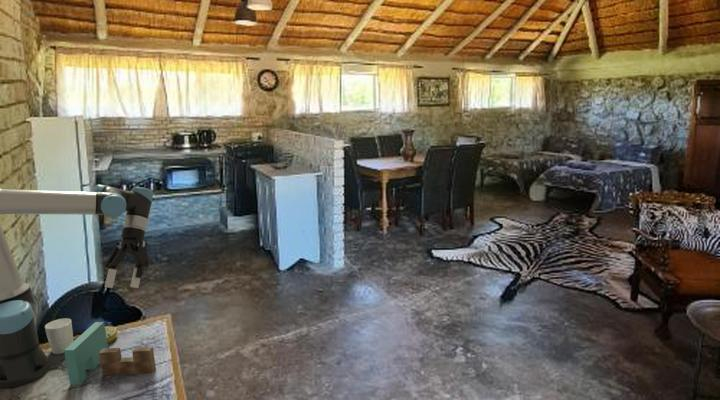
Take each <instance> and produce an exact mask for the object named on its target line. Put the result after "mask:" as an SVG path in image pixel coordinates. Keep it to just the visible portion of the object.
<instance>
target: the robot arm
mask: <svg viewBox="0 0 720 400" xmlns="http://www.w3.org/2000/svg"><path fill="white" fill-rule="evenodd" d="M153 198H154V193H153V190H152V189H150V188H146V187H143V186H142V187H140V186H134V187H132V189H131V190H125V189H122V188H117V187H113V186H110V185H105V184H96V185H95V187H94V189H93V191H74V190H73V191H71V190H70V191H69V190H66V191H65V190H39V189H38V190H37V189H6V188H0V215H79V216H80V215H90V216H92V215H94V216H95V215H96V216H97V215H98V216H107V217H109V218H118V217H121V216H122V215H124V213H125V212H126V214H125V217H124V218H125V219H124V221H123V222H124V223H123V225H122V226H123V228H122V230H121V235H120V237H121V239H122V242H120V241H116V242H115V244H114V247H113V249H112V251H111V253H110V255H109V257H108V258H107V260H106V262H105V264H104V267H105V268H107V274H106V279H105V282H104V288H109V289H113V288H114V283H115V279H116V276H117V270H118V269H117V267H118V266H119V265H120V263H122V261H123V259H124V258H125V257H127V256H128V255H129V256H132V259H133V260H134V261H133V262H134V264H135V266H134V268H133V273H132V278H131V281H130V284H129V285H130V288H135V289H139V287H140V281H141V279H142V275H143V272H144V269H145V268H148V267H149V265H150V264H149V256H148V249H147V245H148V242H147V241H144V238H145V234H146V231H145V230H147V226H148V221H149V217H150V212H151V207H152V204H153ZM16 264H17V263H16V262H15V259H14V255H13V254H12V252H11V249H10V246H9V243H8V241H7V238H6V235H5V233H4V230H3V227H2V226H1V224H0V389H10V388H16V387H19V386H24V385H26V384H29V383H31V382H33V381H35V380H38V379H39V378H41V377H43V376H44V375H45V374H46V373H48V371H49V370H50V368H51V363H50V359H49V357H48V356H47V355H46V353H45V351H43V349H42V347H41V346H40V342H39V337H38V331H37V327H36V326H37V325H36V323H37V318H38V313H39V311H40V301H39V299H38V298H37V296H36V294H34V292H33V291H32V287H31V285H30V284H29V283H26V282H23V280H22V277H21V275H20V272H19V268H18V267H17V265H16Z"/></svg>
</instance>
